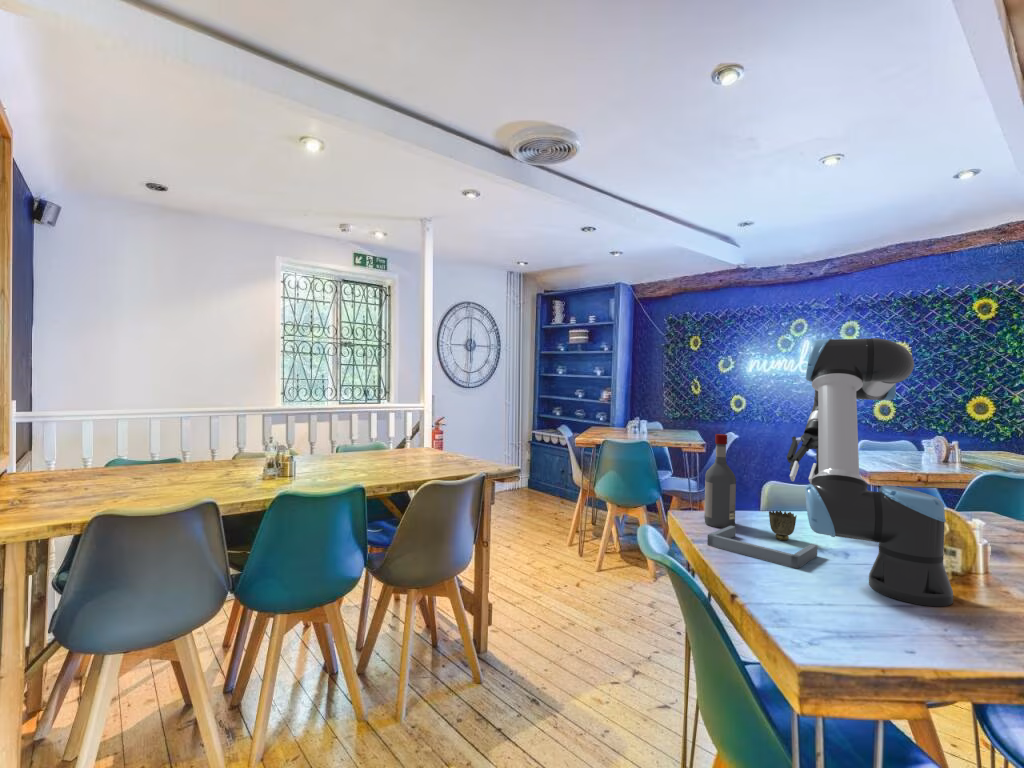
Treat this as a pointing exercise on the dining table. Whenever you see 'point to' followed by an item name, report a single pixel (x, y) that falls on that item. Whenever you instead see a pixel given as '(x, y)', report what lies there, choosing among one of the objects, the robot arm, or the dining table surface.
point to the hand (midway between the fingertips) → (801, 480)
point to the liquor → (720, 489)
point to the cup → (782, 524)
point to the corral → (760, 549)
